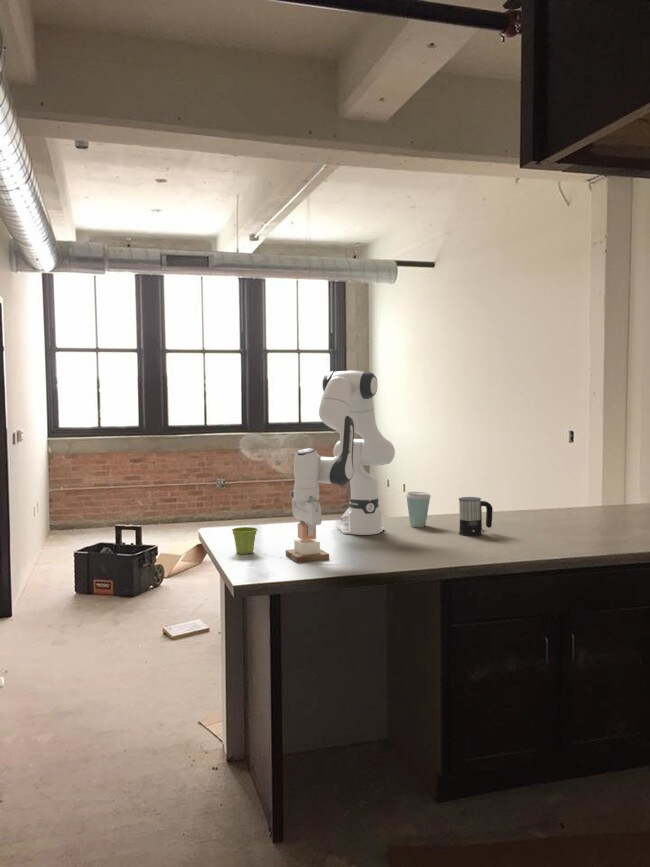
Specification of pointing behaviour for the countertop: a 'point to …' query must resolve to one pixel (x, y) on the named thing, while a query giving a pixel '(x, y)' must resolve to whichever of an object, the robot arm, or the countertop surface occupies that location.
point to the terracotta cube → (305, 532)
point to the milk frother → (473, 515)
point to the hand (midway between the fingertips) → (307, 533)
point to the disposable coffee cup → (418, 508)
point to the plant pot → (244, 539)
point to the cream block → (307, 546)
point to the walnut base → (307, 556)
